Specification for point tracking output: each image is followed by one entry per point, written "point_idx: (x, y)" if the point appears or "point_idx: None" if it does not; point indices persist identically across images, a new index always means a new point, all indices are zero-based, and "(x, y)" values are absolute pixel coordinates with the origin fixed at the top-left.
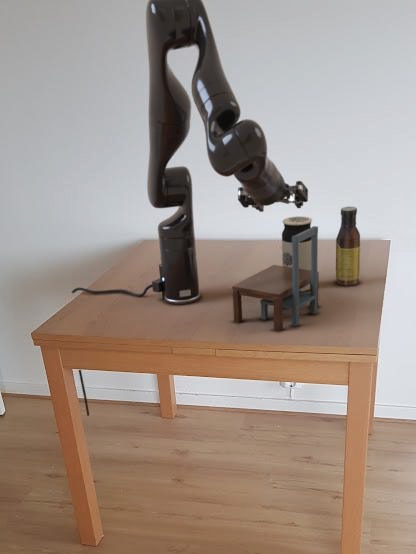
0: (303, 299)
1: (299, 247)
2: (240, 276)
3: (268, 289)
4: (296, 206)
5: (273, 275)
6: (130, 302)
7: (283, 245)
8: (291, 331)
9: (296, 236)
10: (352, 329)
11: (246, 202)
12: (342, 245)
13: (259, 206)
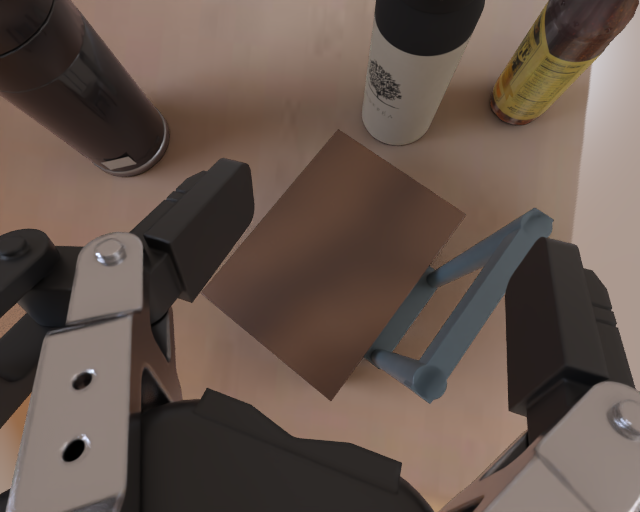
0: (403, 314)
1: (425, 68)
2: (272, 25)
3: (303, 348)
4: (507, 336)
5: (329, 222)
6: (15, 142)
7: (376, 40)
8: (359, 388)
9: (435, 388)
10: (505, 402)
11: (15, 400)
12: (559, 47)
13: (196, 290)
